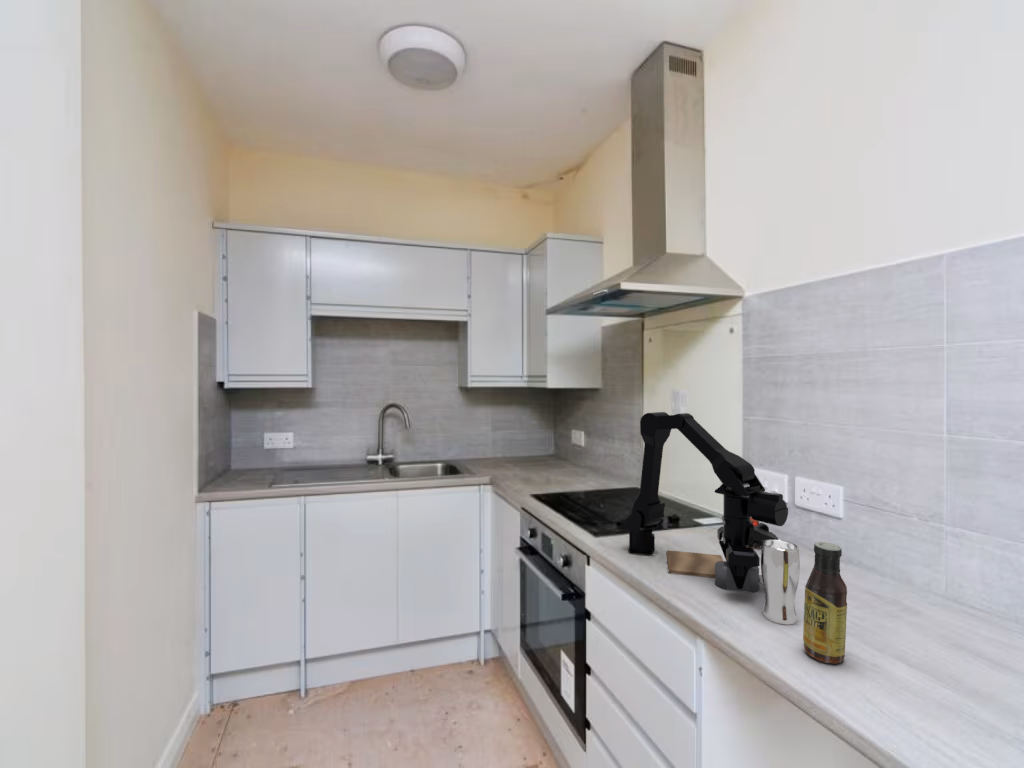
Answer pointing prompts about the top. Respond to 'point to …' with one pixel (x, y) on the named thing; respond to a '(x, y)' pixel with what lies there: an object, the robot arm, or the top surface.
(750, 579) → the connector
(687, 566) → the board
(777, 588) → the beer glass
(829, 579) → the sauce bottle
